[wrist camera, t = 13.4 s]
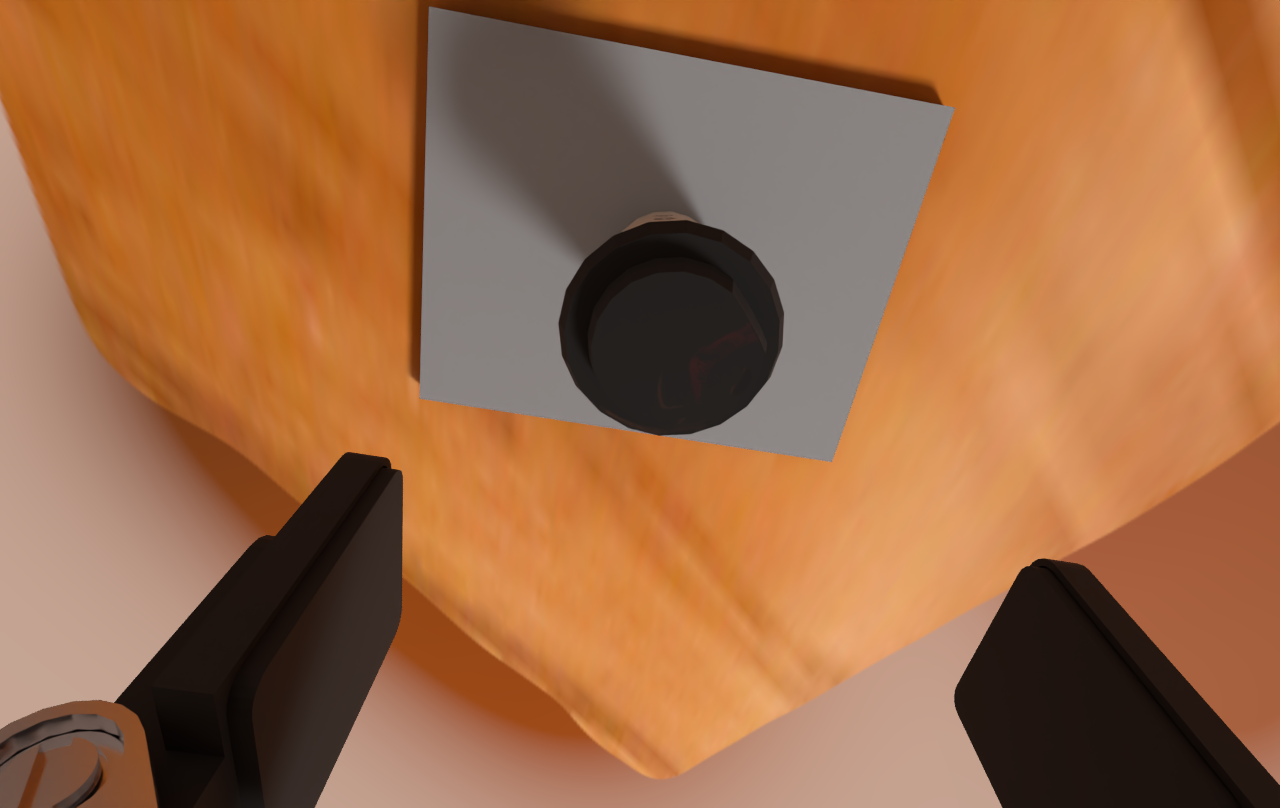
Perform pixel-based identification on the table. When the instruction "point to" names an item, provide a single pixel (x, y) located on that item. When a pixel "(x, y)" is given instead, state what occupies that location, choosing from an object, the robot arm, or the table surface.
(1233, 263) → the table surface
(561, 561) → the table surface
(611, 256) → the coffee cup
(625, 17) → the table surface
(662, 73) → the desk mat
